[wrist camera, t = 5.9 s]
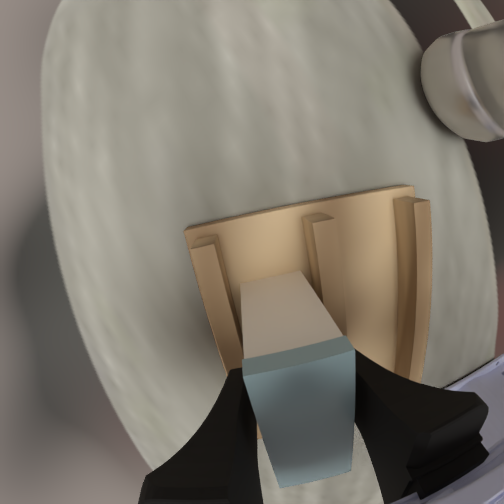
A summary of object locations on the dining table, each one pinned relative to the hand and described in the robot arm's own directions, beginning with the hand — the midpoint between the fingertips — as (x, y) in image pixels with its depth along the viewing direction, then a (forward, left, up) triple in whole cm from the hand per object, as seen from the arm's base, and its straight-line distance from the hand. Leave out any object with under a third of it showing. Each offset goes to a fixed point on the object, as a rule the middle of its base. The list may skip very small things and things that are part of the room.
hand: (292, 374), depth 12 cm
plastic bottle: (-13, -12, -5) cm, 19 cm away
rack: (-2, 0, -4) cm, 5 cm away
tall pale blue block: (0, 0, -3) cm, 3 cm away
